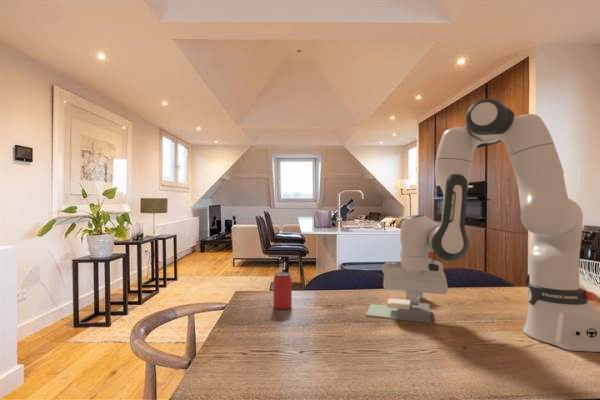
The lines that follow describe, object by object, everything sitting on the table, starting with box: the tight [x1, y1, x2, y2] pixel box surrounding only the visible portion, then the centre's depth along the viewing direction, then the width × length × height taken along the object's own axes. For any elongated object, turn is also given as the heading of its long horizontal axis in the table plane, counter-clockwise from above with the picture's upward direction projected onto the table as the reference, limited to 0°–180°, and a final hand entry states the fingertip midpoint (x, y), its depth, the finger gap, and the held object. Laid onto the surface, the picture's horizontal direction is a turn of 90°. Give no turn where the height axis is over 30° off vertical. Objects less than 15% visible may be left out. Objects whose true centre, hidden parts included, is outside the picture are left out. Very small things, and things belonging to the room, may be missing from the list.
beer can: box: [273, 271, 293, 310], centre depth 118 cm, size 7×7×12 cm
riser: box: [396, 302, 432, 324], centre depth 109 cm, size 10×12×2 cm
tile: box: [387, 297, 410, 310], centre depth 110 cm, size 7×6×2 cm
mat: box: [365, 303, 398, 320], centre depth 112 cm, size 10×12×1 cm
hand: (414, 304), depth 109 cm, fingers closed
